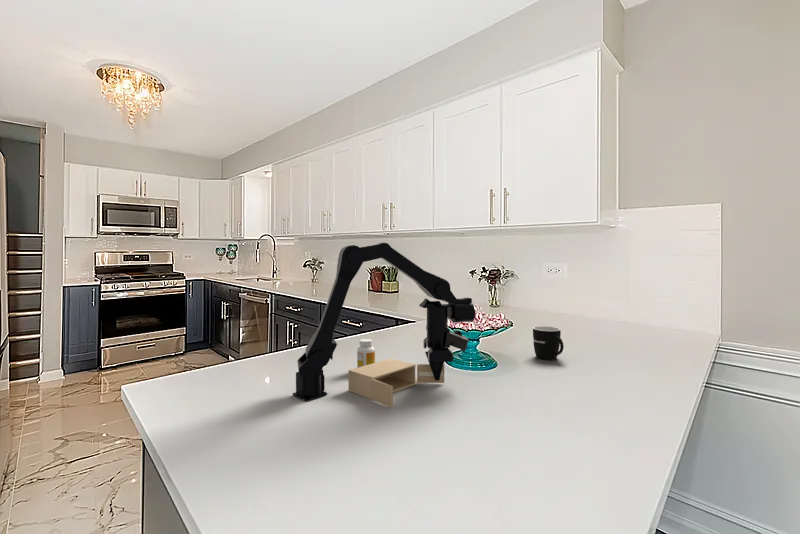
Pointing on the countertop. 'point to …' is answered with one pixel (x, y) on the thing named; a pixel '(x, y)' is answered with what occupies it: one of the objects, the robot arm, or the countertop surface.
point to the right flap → (428, 374)
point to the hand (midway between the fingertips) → (437, 379)
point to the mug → (547, 342)
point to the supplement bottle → (365, 353)
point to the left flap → (382, 392)
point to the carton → (381, 376)
